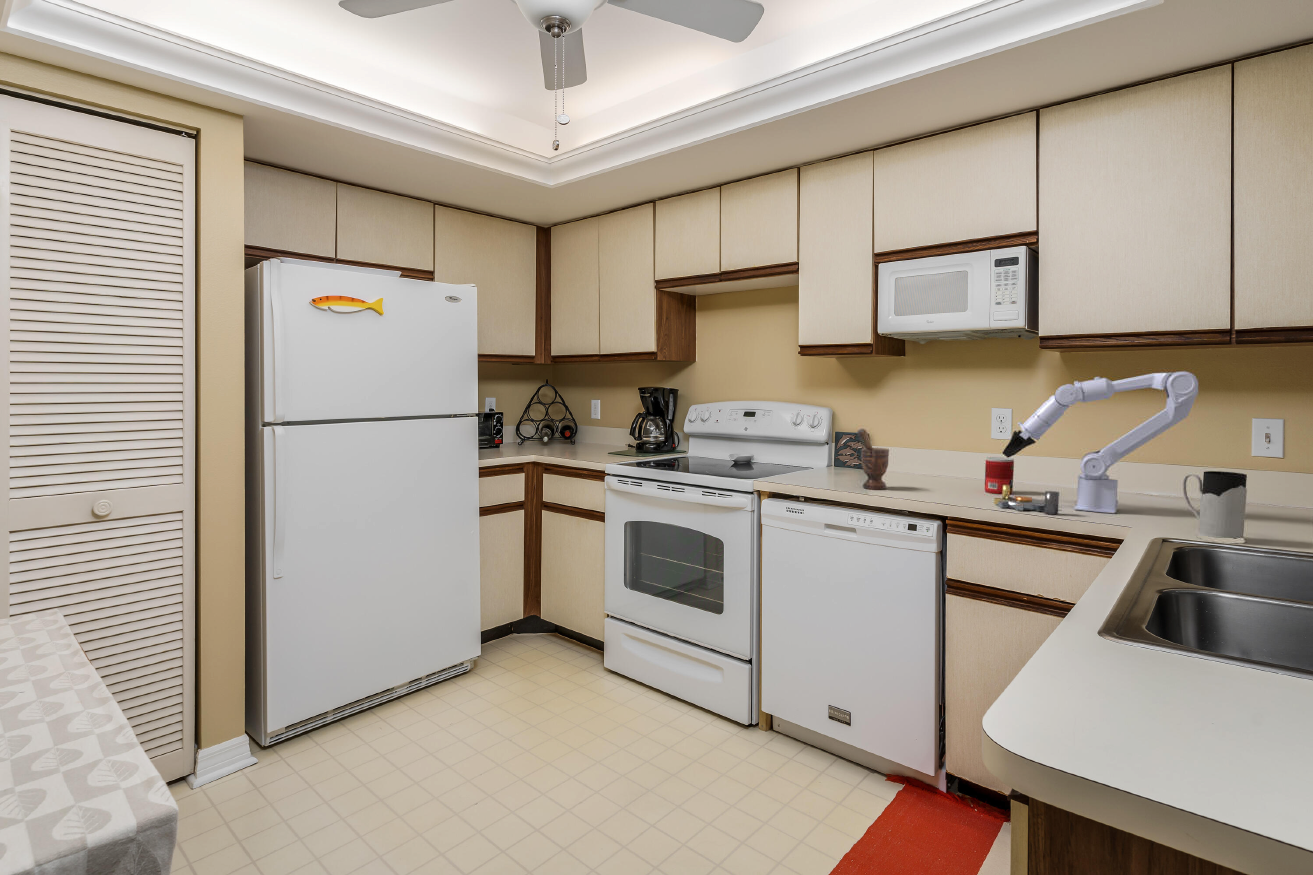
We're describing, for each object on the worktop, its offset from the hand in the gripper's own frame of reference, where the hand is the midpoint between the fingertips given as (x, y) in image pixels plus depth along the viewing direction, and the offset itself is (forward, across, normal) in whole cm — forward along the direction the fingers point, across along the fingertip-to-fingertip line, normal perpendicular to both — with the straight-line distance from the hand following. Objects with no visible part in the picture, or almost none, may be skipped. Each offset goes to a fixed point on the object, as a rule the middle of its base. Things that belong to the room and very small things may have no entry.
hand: (1007, 454), depth 200 cm
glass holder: (-17, +21, +44) cm, 52 cm away
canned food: (+13, -17, +5) cm, 23 cm away
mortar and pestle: (+36, -2, -22) cm, 42 cm away
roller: (+3, +12, +19) cm, 23 cm away
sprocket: (+8, +6, +13) cm, 16 cm away
